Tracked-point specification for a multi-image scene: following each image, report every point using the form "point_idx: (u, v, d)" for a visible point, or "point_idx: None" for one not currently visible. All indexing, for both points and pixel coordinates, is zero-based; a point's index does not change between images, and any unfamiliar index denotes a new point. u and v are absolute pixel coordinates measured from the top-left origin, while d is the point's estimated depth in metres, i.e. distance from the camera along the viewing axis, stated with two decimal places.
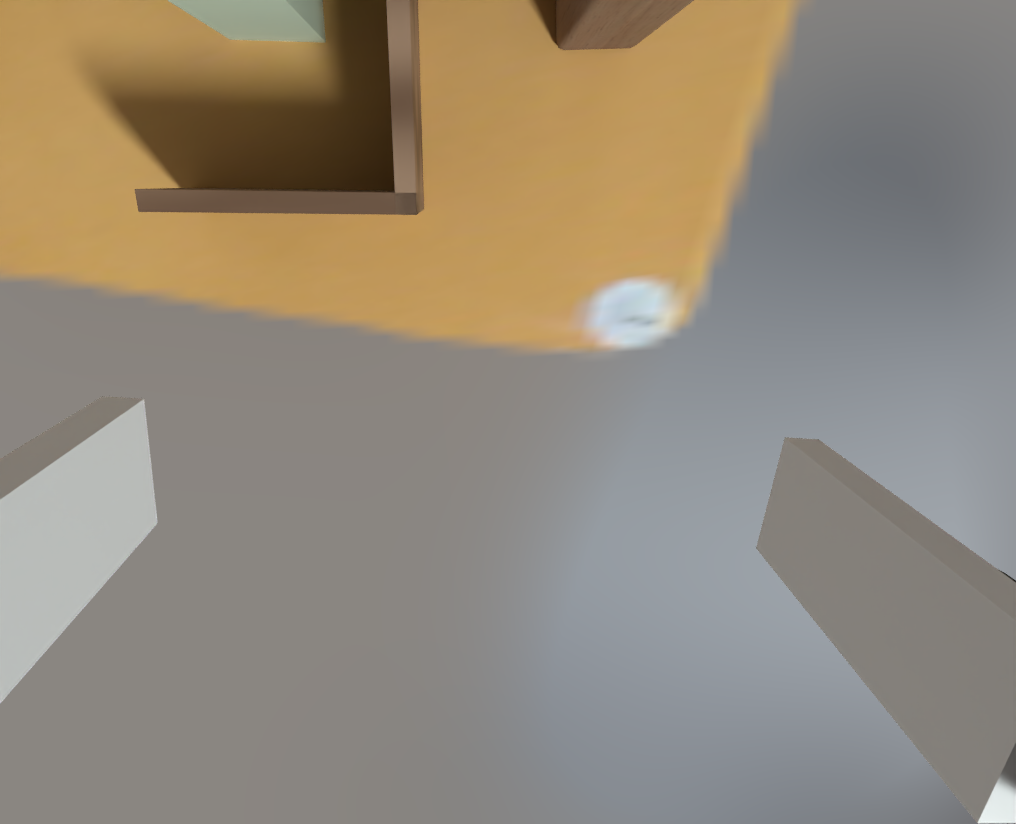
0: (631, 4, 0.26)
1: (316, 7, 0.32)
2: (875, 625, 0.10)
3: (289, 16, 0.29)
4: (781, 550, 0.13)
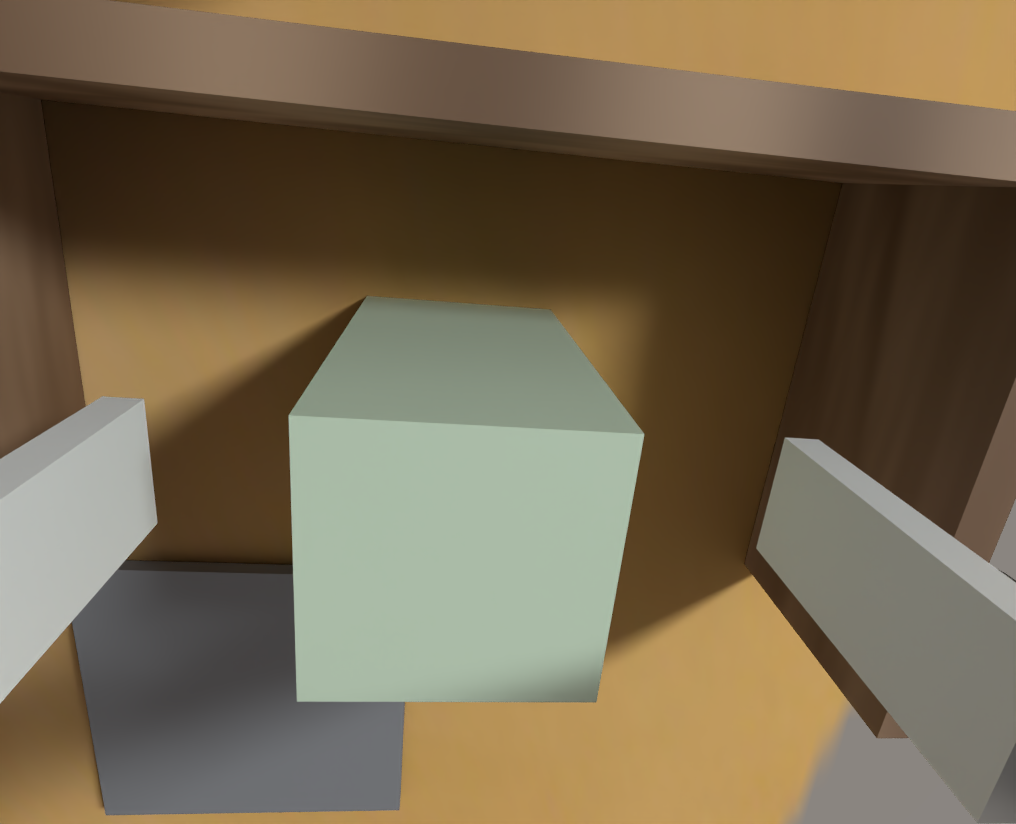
0: None
1: (513, 321, 0.16)
2: (875, 625, 0.10)
3: None
4: (781, 550, 0.13)
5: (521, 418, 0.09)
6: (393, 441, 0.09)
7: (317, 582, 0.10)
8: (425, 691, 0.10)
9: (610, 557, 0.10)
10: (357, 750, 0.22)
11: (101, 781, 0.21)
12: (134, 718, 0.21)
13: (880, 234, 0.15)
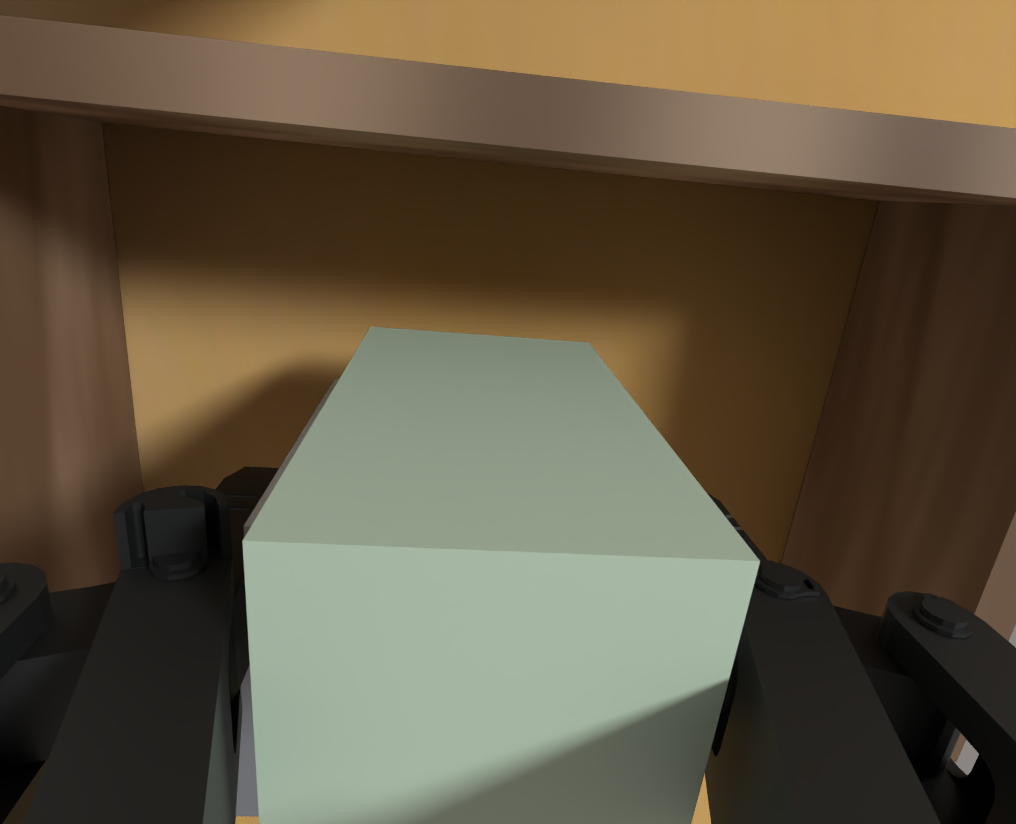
0: None
1: (548, 360, 0.13)
2: None
3: None
4: None
5: (580, 535, 0.06)
6: (397, 575, 0.06)
7: (290, 759, 0.07)
8: None
9: (701, 722, 0.07)
10: None
11: None
12: None
13: (919, 252, 0.15)
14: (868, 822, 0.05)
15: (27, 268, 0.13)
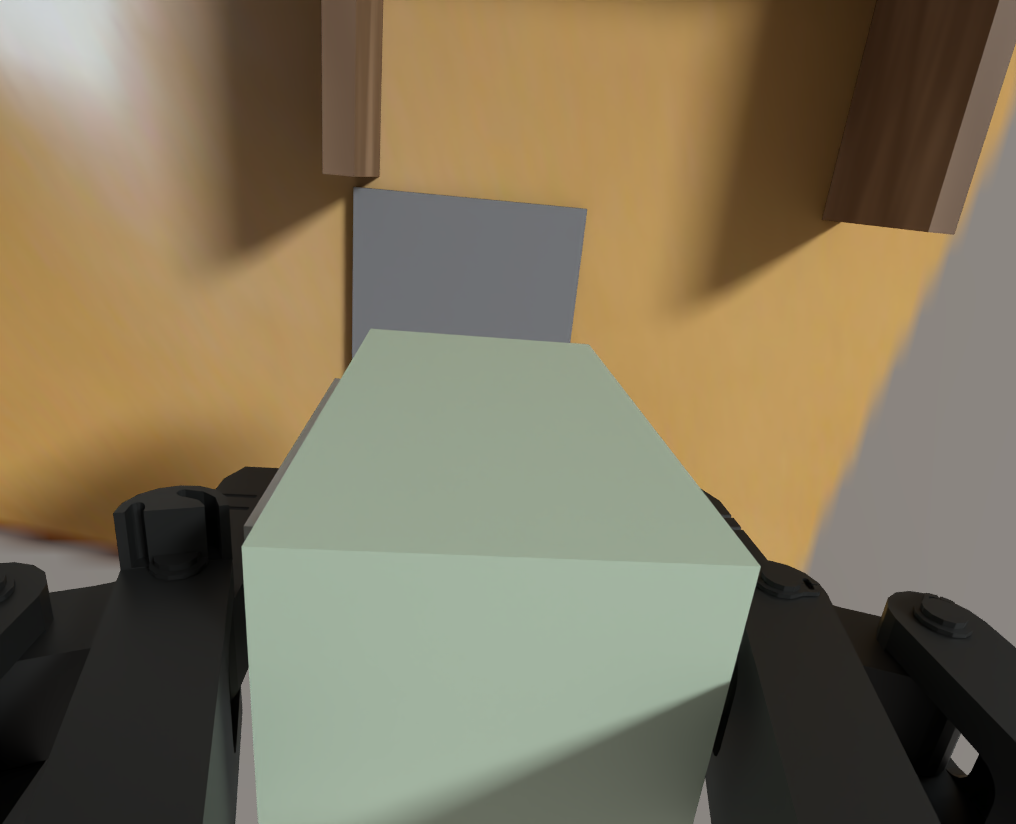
0: None
1: (548, 362, 0.13)
2: None
3: None
4: None
5: (580, 540, 0.06)
6: (397, 581, 0.06)
7: (289, 764, 0.07)
8: None
9: (701, 728, 0.07)
10: None
11: None
12: (383, 322, 0.29)
13: None
14: (868, 822, 0.05)
15: None
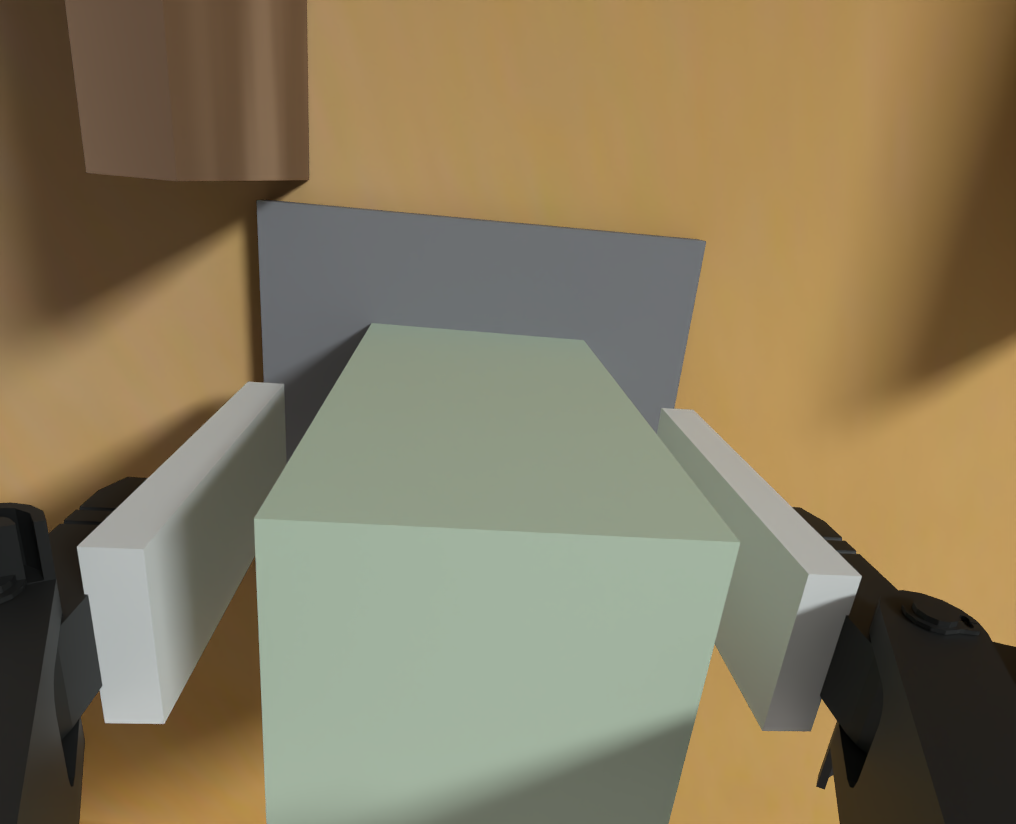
0: None
1: (543, 356, 0.13)
2: None
3: None
4: None
5: (572, 517, 0.07)
6: (399, 552, 0.06)
7: (295, 728, 0.07)
8: None
9: (685, 696, 0.07)
10: None
11: None
12: None
13: None
14: None
15: None
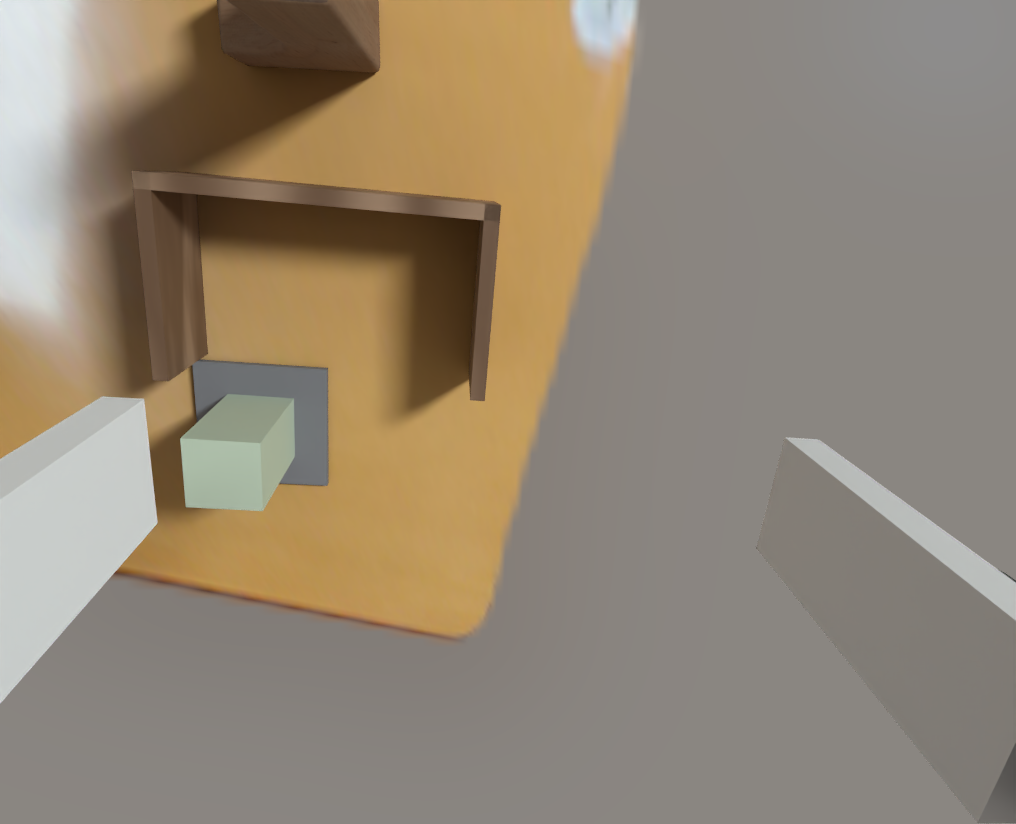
0: (358, 7, 0.33)
1: (271, 405, 0.48)
2: (875, 625, 0.10)
3: (274, 431, 0.45)
4: (781, 550, 0.13)
5: (234, 439, 0.41)
6: (203, 444, 0.41)
7: (188, 476, 0.42)
8: (217, 505, 0.43)
9: (258, 472, 0.42)
10: (307, 452, 0.51)
11: None
12: None
13: None
14: None
15: (179, 237, 0.42)
